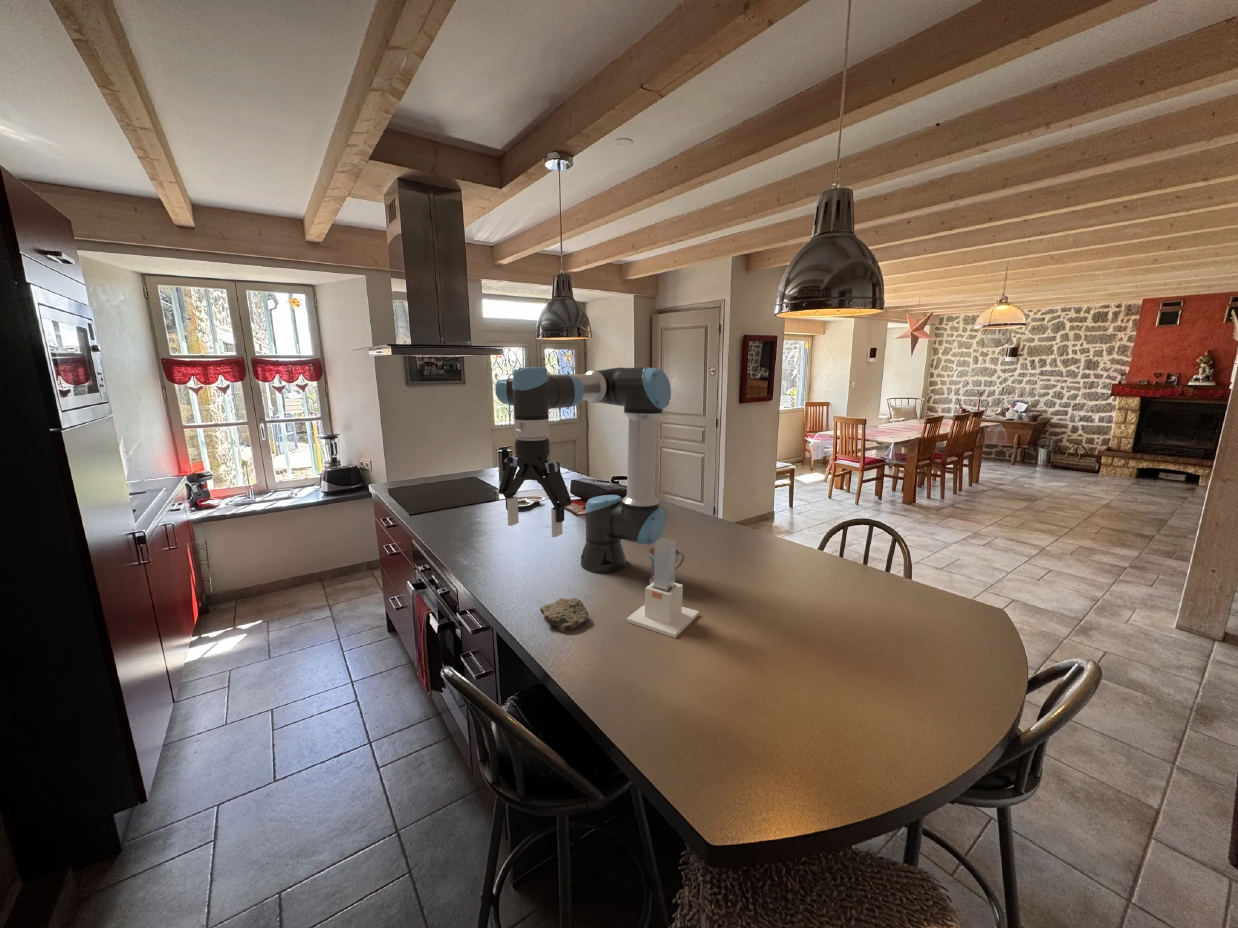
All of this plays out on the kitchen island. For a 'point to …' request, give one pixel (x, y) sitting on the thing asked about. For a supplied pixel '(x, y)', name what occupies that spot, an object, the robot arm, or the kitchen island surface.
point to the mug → (651, 554)
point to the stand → (663, 612)
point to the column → (664, 564)
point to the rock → (565, 613)
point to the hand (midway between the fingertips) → (534, 529)
